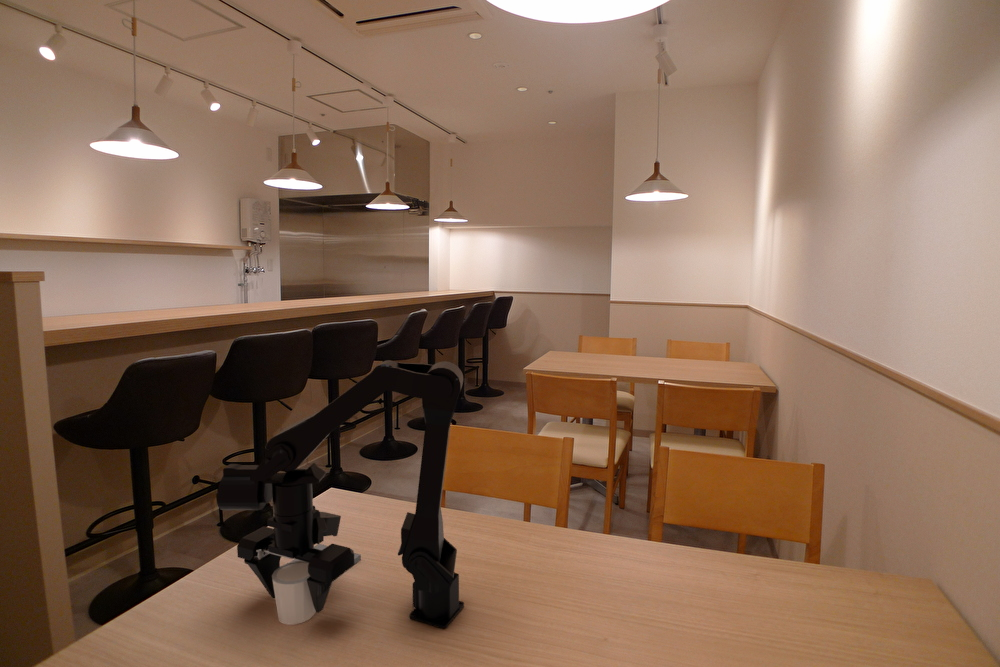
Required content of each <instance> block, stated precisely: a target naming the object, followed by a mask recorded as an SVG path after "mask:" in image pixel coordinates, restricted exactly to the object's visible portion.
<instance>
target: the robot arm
mask: <svg viewBox="0 0 1000 667" xmlns="http://www.w3.org/2000/svg"><path fill="white" fill-rule="evenodd" d="M463 383H464V375H463V372H462V370H461V368H459V366H458V365H456V364H455V363H453V362H451V361H448V360H445V361H439V362H436V363H434V364H428V363H420V362H419V363H417V362H415V363H414V362H399V361H393V360H389V359H388V360H384V361H381V363H379V364H378V365H376V366H375V367H374V368H373V370H372V371H371V372H369V373H368V374H367V375H366V376H364V377H363V378H362V379H361V380H359V381H358V382H356V383H355V384H354V385H352V386H351V387H349V389H347V390H345V392H343V393H342V394H340V395H339V396H337V398H336V399H334V400H332V401H331V402H330V403H328V404H327V405H326V406H324V407H323V408H321V410H319V411H317V412H315V413H312V414H310V415H308V416H305V417H304V418H301V419H300V420H298V421H296V422H294V423H291V424H289V425H288V426H287V427H285V428H283V429H282V430H280V431H279V432H278V433H277V434H275V435H274V436H272V437H271V438H270V439H269V440H268V441H267V442H266V444H265V445H264V448H265V449H264V458H263V459H262V461H260V463H259V464H239V463H229V464H228V465H227V466H225V467H224V468H223V469H222V477H221V478H220V482H219V484H218V489H217V493H216V494H215V497H216V504H217V507H218V509H219V510H221V511H262V510H263V509H264V508H265V506H266V504H269V503H271V501H272V513H273V514H272V515H273V516H272V517H270V518H268V519H266V520H267V521H266V523H267V524H266V525H267V526H264V525H263V526H261V527H260V528H257V529H256V530H254V531H253V532H250V533H248V534H247V535H246V534H245V535H244V536H243V537H241V538H240V540H239V542H238V544H237V545H236V550H237V552H236V553H237V558H240V559H242V560H243V559H244V560H243V562H244V564H245V565H248V567H249V568H250V569H251V571H252V572H253V573H254V575H255V576H256V577H257V578H258V580H259V582H260V583H261V584H262V585H263V587H264V588H265V590H266V592H267V593H268V595H269V596H270V598H271V599H273V600H274V599H275V593H274V586H273V580H272V574H273V573H274V571H275V570H276V569H278V568H279V567H280V566H281V558H284V559H285V558H286V559H289V560H294V559H298V560H301V561H305V562H309V564H308V573H309V575H310V576H311V577H309V578H308V579H307V583H308V587H309V591H310V594H311V598H312V602H313V605H314V608H315V611H316V612H315V613H317V614H319V613H321V612H322V611H323V609H324V607H325V604H326V601H327V599H328V595H329V592H330V589H331V587H332V584H333V582H334V581H335V580H336V579H338V578H339V577H340V576H342V574H344V573H345V572H346V571H348V570H349V569H351V568H352V567H354V566H355V564H354V553H355V552H354V549H352V548H350V547H348V546H343V545H339V544H336V543H331V544H329V545H327V546H328V547H326V548H325V549H323V550H319V549H315V548H314V547H315V546H316V545H318V544H322V543H323V542H324V537H328V536H330V537H331V536H333V537H338V533H339V528H340V523H341V518H342V516H341V515H338V514H335V513H330V512H327V511H320V510H319V509H317V508H316V506H315V505H314V501H313V500H314V499H313V497H314V496H313V484H314V485H317V484H319V483H321V481H322V480H323V478H324V477H325V476H326V475H327V472H326V471H325V470H323V469H322V468H321V467H319V466H318V465H317V464H316V463H315V462H312V463H311V464H310V465H309V467H306V468H305V467H302V468H301V467H300V466H301V465H302V464H303V462H305V461H306V460H307V459H308V458H309V457H310V456H311V455H312V454H313V453H314V452H315V451H316V449H317V448H319V447H320V445H321V444H323V442H324V441H326V438H328V437H329V435H330V434H331V433H333V432H334V431H335V430H336V429H338V428H340V426H342V425H343V424H344V423H346V422H347V421H349V420H351V418H352V417H354V416H355V415H357V414H358V413H360V411H362V410H363V409H365V408H366V407H367V406H369V405H370V404H371V403H373V402H374V401H376V400H377V399H378V398H379V397H381V396H382V395H383V394H384V393H386V392H392V393H393V392H394V393H397V394H400V395H405V396H408V397H412V398H416V399H421V404H422V412H423V418H424V426H425V427H424V433H423V434H424V435H423V444H422V450H421V452H422V453H421V460H420V470H419V471H420V472H419V477H418V486H417V488H418V489H417V497H416V504H415V512H414V513H412V512H410V511H409V512H406V513H405V514H406V515H405V517H404V521H403V523H402V526H401V529H400V539H401V540H400V541H401V543H400V546H399V549H398V553H397V556H399V557H400V556H401V562H402V563H401V565H402V567H403V568H404V569H405V570H406V571H407V573H410V574H411V575H412V578H413V580H414V581H413V582H412V608H413V610H412V611H411V612H410V613H409V620H410V619H411V620H414V621H417V622H420V623H424V624H428V625H430V626H434V627H438V628H441V629H446V628H448V627H449V625H450V624H451V622H452V621H453V620H454V619H455V617H456V616H457V615H458V614H459V613H460V612H461V611H462V609H463V608H464V607H465V605H464V604H465V603H464V602H463V601H460V574H459V573H456V572H455V569H456V568H455V567H456V562H457V561H456V560H457V553H458V550H457V548H456V546H454V545H453V544H451V543H450V542H449V541H448V539H447V538H445V536H444V534H445V533H444V520H443V514H442V507H441V506H442V497H443V488H444V481H445V472H446V465H447V457H448V448H449V439H450V431H451V423H452V420H453V417H454V414H455V411H456V408H457V404H458V401H459V398H460V395H461V391H462V388H463ZM299 467H300V468H299ZM275 600H276V599H275Z"/></svg>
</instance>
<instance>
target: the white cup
mask: <svg viewBox="0 0 1000 667" xmlns="http://www.w3.org/2000/svg"><path fill="white" fill-rule="evenodd" d="M308 564H309V562H305V561H294V562H291V561H290V562H287V563H285V564H282V565H280V567H279V568H278V569H276V570H275V571H274V573H273V574H272V580H273V586H274V593H275V606H276V612H277V617H278V618H277V619H278V621H279V622H280V624H284V625H287V626H294V625H299V624H302V623H305V622H307V621H308V620H311V618H313V617H314V616H315V614H316V613H317V612H316V611H315V608H314V605H313V602H312V598H311V594H310V591H309V587H308V583H307V579H308V578H309V577H311V576H310V575H309V573H308Z"/></svg>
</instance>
